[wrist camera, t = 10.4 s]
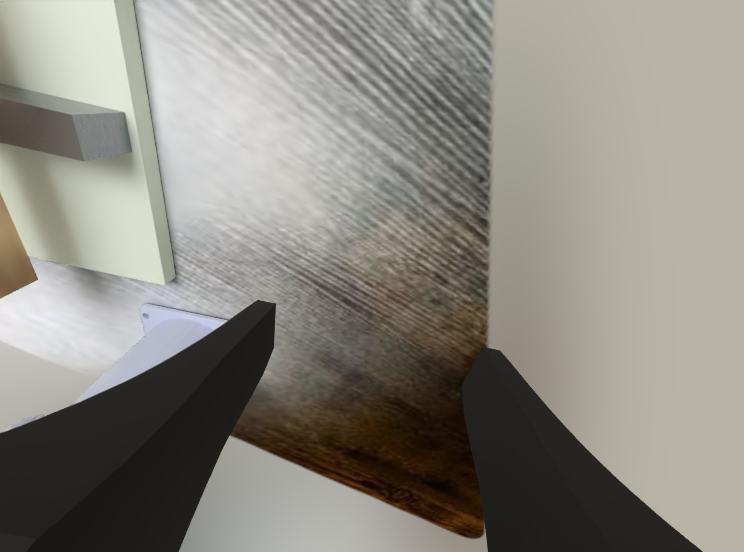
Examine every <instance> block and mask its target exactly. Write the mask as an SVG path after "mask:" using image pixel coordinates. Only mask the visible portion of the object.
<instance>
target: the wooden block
mask: <svg viewBox="0 0 744 552" xmlns="http://www.w3.org/2000/svg"><path fill="white" fill-rule="evenodd" d="M36 280H38V278H37V276H36V273H35V271H34V269H33V266H32V264H31V262H30V259H29V257H28V255H27V253H26V250H25V248H24V246H23V243H22V241H21V239H20V237H19V234H18V232H17V230H16V227H15V225H14V223H13V221H12V218H11V216H10V214H9V211H8V209H7V207H6V205H5V202H4V200H3V198H2V195H1V193H0V298H2V297H4V296H6V295H8V294H10V293H12V292H14V291H16V290H18V289H20V288H22V287H24V286H26V285H28V284H30V283H32V282H34V281H36Z"/></svg>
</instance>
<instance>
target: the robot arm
mask: <svg viewBox="0 0 744 552" xmlns="http://www.w3.org/2000/svg"><path fill="white" fill-rule="evenodd" d="M139 311H140V315H141V320H142V324H143V328H144V332H145V336H144V337H143V338H142V339H141V340H140V341H139V342H138V343H137V344H135V345H134V346H133V347H132V348H131V349H130V350H129V351H128V352H127V353H126V354H125V355H124V356H123V357H122V358H120V359H119V360H118V361H117V362H116V363H115V364H114V365H113V366H112V367H111V368H110V369H109V370H108V371H107V372H105V373H104V374H103V375H102V376H101V377H100V378H99V379H98V380H97V381H96V382H95V383H94V384H93V385H92V386H90V387H89V388H88V389H87V390H86V391H85V392H84V393H83V394H82V395H81V396H80V397H79V398H78V399H77V400H75V401H74V402H73V403H72V404H71V405H70V406H69V407H67V408H64V409H62V410H59V411H57V412H54V413H52V414H49V415H47V416H45V415H43V414H40V415H37V416H35V417H34V418H32V417H30V418H24V419H20V420H18V421H16V422H15V423H13V424H12V425H11V426H9V427H8V428H7V429H6V430H4V431H3V432H1V433H0V552H179V549H180V547H181V544H182V542H183V540H184V537H185V535H186V532H187V530H188V527H189V525H190V522H191V520H192V518H193V515H194V513H195V511H196V508H197V506H198V504H199V501H200V499H201V497H202V494H203V492H204V489H205V487H206V484H207V483H208V480H209V478H210V476H211V474H212V471H213V469H214V467H215V464H216V462H217V460H218V458H219V455H220V453H221V451H222V449H223V447H224V445H225V443H226V441H227V439H228V437H229V435H230V434H231V432H232V430H233V428H234V426H235V425H236V423H237V421H238V419H239V417H240V415H241V414H242V412H243V410H244V408H245V406H246V405H247V403H248V401H249V399H250V397H251V396H252V394H253V392H254V390H255V388H256V386H257V385H258V383H259V381H260V379H261V377H262V375H263V373H264V371H265V368H266V366H267V364H268V361H269V359H270V356H271V354H272V351H273V349H274V334H275V311H276V304H275V303H270V302H265V301H260V300H257V301H255V302H254V303H252V304H251V305H250V306H248V307H247V308H245V309H244V310H243V311H241V312H240V313H238V314H237V315H236V316H234V317H233V318H231V319H230V320H224V319H219V318H214V317H209V316H204V315H200V314H195V313H190V312H185V311H180V310H176V309H171V308H166V307H161V306H156V305H152V304H146V303H144V304H142V305H141V306H140V307H139ZM462 398H463V409H464V417H465V422H466V427H467V432H468V436H469V441H470V446H471V450H472V455H473V459H474V464H475V468H476V473H477V478H478V482H479V487H480V493H481V498H482V505H483V513H484V521H485V529H486V537H487V546H488V552H702V551H701V550H700V549H699V548H698V547H696V546H695V545H694V544H692V543H691V542H690V541H689V540H688V539H686V538H685V537H684V536H683V535H681V534H680V533H679V532H678V531H677V530H675V529H674V528H673V527H671V525H669V524H668V523H667V522H666V521H665V520H663V519H662V518H661V517H660V516H659V515H657V514H656V513H655V512H654V511H653V510H652V509H651V508H649V507H648V506H647V505H646V504H645V503H644V502H643V501H641V500H640V499H639V498H638V497H637V496H636V495H635V494H633V493H632V492H631V491H630V490H629V489H628V488H627V487H626V486H625V485H623V484H622V483H621V482H620V481H619V480H618V479H617V478H616V477H615V476H614V475H613V474H612V473H611V472H610V471H609V470H607V468H605V467H604V466H603V465H602V464H601V463H600V462H599V461H598V460H597V459H596V458H595V457H594V456H593V455H592V454H591V453H590V452H589V451H588V450H587V449H586V448H585V447H584V446H583V445H582V444H581V443H580V442H579V441H578V440H577V439H576V438H575V436H574V435H573V434H572V433H571V432H570V431H569V430H568V429H567V428H566V427H565V426H564V425H563V424H562V422H560V420H559V419H558V418H557V417H556V416H555V415H554V414H553V413H552V411H551V410H550V409H549V408H548V407H547V406H546V404H545V403H544V402H543V401H542V400H541V399H540V397H539V396H538V395H537V394H536V393H535V392H534V390H533V389H532V388H531V387H530V386H529V385H528V383H527V382H526V381H525V380H524V378H523V377H522V376H521V375H520V374H519V372H518V371H517V370H516V369H515V368H514V366H513V365H512V364H511V363H510V362H509V360H508V359H507V358H506V357H505V356H504V355H503V354H502V352H501V351H500V350H495V349H490V348H485V347H482V349H481V351H480V353H479V355H478V356H477V358H476V360H475V362H474V364H473V366H472V368H471V369H470V371H469V373H468V375H467V377H466V379H465V381H464V382H463V384H462Z"/></svg>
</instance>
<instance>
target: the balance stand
mask: <svg viewBox="0 0 744 552" xmlns="http://www.w3.org/2000/svg"><path fill="white" fill-rule="evenodd" d="M0 193H1V195H2V198H3V200H4V202H5V205H6V207H7V209H8V211H9V214H10V216H11V218H12V221H13V223H14V225H15V227H16V230H17V232H18V234H19V237H20V239H21V241H22V243H23V246H24V248H25V250H26V253H27V255H28V257H33V258H38V259H42V260H47V261H52V262H56V263H61V264H66V265H71V266H75V267H80V268H85V269H90V270H94V271H99V272H104V273H109V274H113V275H118V276H123V277H128V278H132V279H137V280H142V281H146V282H151V283H156V284H161V285H166V284H168V283H169V282H170V281H171V280H173V279H174V278H175V277H176V275H175V268H174V262H173V255H172V249H171V243H170V236H169V230H168V223H167V217H166V210H165V204H164V198H163V191H162V185H161V178H160V172H159V165H158V159H157V152H156V146H155V140H154V133H153V127H152V120H151V114H150V107H149V101H148V94H147V88H146V82H145V75H144V69H143V62H142V56H141V49H140V43H139V37H138V30H137V24H136V17H135V11H134V4H133V0H0Z"/></svg>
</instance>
